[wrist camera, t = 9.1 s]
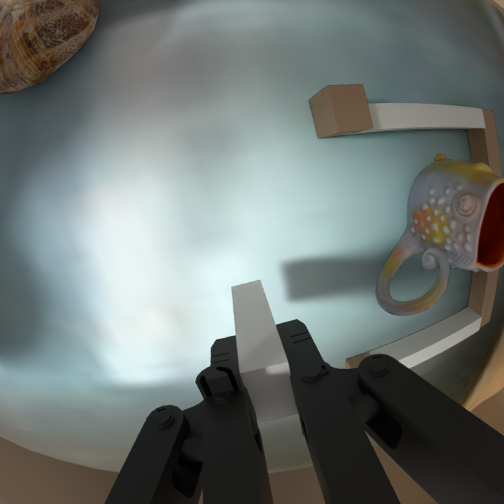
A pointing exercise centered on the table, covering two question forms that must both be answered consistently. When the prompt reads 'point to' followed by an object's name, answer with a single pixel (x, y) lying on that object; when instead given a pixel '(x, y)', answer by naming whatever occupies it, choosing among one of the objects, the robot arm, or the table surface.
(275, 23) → the table surface
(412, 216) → the mug
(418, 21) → the table surface
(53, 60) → the seashell
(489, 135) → the pocket
